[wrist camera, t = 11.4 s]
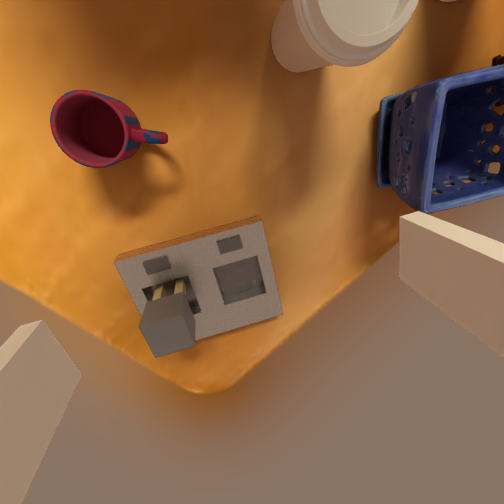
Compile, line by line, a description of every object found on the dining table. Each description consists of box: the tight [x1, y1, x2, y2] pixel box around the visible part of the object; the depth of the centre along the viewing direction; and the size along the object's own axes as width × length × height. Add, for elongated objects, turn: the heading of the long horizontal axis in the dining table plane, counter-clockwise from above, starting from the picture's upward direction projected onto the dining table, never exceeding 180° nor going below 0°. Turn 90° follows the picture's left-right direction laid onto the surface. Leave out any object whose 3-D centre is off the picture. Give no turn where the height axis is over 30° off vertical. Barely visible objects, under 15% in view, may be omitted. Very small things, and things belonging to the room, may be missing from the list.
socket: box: [114, 216, 283, 341], centre depth 41 cm, size 16×20×3 cm
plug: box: [139, 279, 196, 358], centre depth 37 cm, size 5×5×10 cm
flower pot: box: [377, 64, 504, 213], centre depth 33 cm, size 13×13×12 cm
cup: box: [50, 90, 168, 168], centre depth 30 cm, size 7×10×7 cm
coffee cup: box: [271, 0, 419, 72], centre depth 25 cm, size 10×10×15 cm
